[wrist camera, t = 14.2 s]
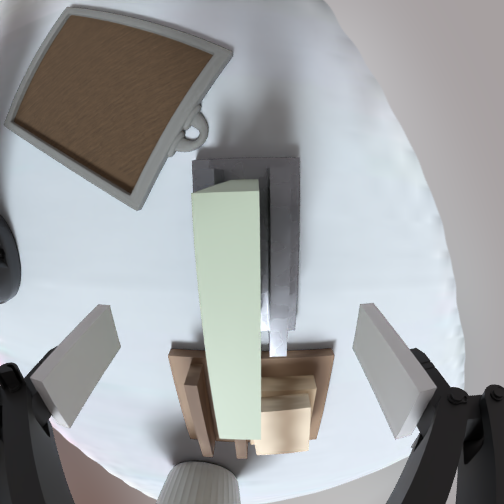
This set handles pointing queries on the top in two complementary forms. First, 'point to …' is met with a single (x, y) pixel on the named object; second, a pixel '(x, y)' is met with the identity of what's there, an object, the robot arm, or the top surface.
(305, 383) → the offcut lower
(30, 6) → the top surface
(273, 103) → the top surface
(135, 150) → the grey brown flat board
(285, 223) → the stand
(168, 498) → the canister
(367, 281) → the top surface
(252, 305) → the panel
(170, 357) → the rack
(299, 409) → the offcut upper
